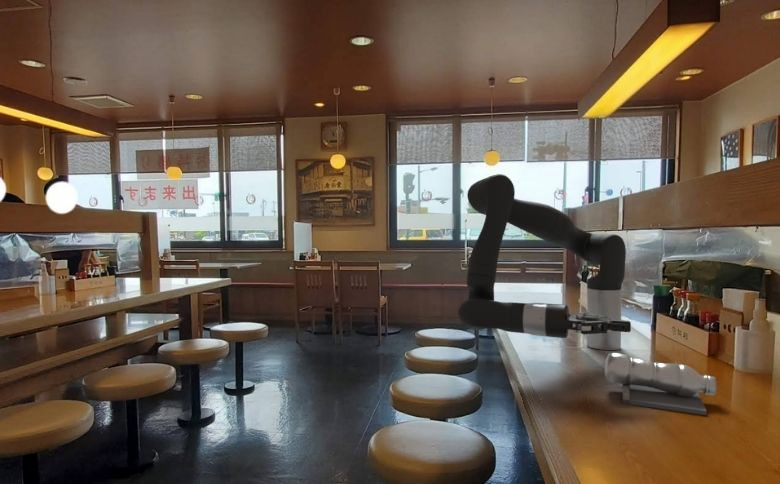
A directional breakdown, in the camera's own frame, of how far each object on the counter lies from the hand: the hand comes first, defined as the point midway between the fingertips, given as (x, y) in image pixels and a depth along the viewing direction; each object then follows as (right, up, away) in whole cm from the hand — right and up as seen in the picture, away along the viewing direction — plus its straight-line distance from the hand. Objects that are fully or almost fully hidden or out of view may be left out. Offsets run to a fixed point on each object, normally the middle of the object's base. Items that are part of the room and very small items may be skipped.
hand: (630, 326), depth 99 cm
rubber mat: (+5, -14, -3) cm, 15 cm away
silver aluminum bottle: (-5, -9, +2) cm, 10 cm away
